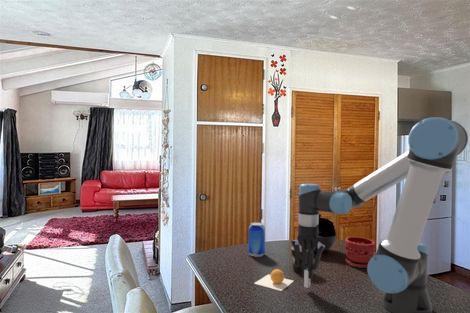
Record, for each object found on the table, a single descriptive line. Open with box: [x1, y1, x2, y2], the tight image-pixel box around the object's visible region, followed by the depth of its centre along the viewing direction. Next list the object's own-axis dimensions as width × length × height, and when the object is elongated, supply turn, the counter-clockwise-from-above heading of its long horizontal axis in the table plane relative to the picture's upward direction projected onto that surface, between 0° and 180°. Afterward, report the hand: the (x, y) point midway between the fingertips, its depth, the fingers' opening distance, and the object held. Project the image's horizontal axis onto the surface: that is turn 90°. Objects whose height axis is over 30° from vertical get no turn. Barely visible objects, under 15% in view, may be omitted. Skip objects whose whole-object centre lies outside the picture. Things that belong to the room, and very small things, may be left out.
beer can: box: [248, 221, 266, 258], centre depth 169 cm, size 8×8×16 cm
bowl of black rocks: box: [314, 213, 338, 253], centre depth 177 cm, size 20×20×19 cm
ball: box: [270, 268, 285, 284], centre depth 132 cm, size 6×6×6 cm
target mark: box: [253, 273, 295, 292], centre depth 133 cm, size 12×12×1 cm
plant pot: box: [344, 236, 376, 269], centre depth 156 cm, size 13×13×12 cm
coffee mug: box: [290, 245, 308, 275], centre depth 148 cm, size 12×9×10 cm
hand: (307, 286), depth 125 cm, fingers closed
